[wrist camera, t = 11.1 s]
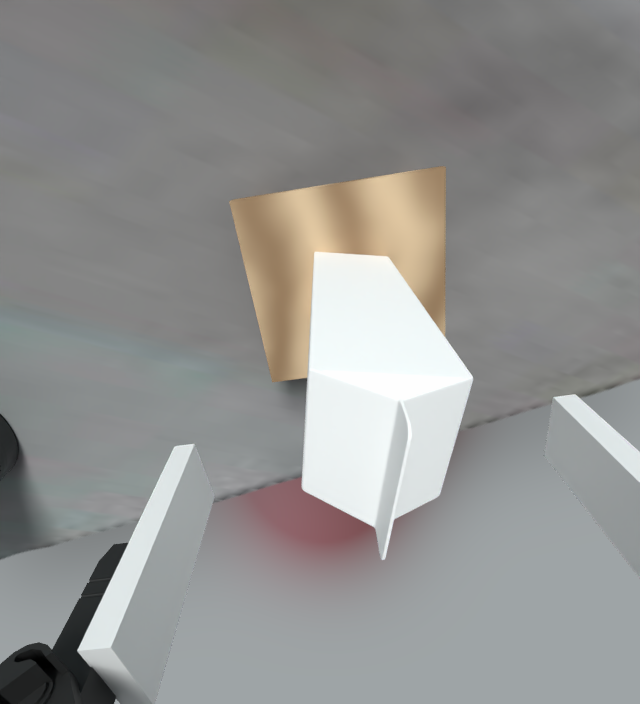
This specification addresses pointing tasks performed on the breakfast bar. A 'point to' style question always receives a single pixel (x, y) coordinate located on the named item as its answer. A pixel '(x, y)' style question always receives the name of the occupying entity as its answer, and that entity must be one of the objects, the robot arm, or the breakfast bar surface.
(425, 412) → the milk
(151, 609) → the robot arm
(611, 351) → the breakfast bar surface
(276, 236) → the light brown square platform
